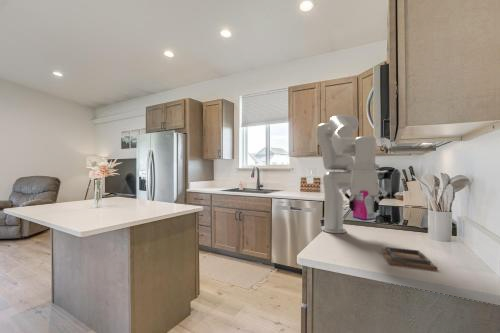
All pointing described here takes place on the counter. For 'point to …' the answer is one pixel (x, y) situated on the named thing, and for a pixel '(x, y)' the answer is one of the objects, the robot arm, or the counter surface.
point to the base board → (407, 258)
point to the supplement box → (363, 206)
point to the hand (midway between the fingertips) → (363, 210)
